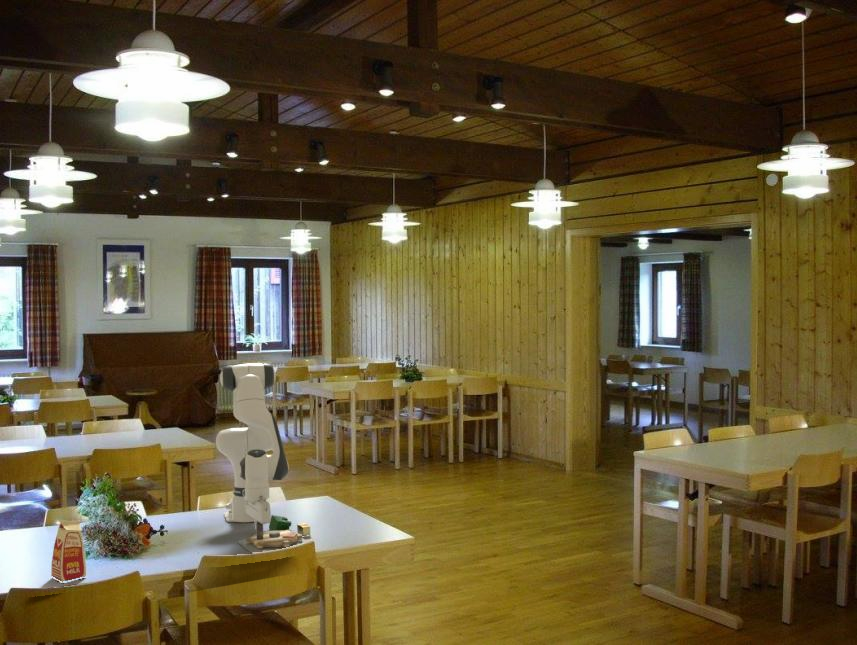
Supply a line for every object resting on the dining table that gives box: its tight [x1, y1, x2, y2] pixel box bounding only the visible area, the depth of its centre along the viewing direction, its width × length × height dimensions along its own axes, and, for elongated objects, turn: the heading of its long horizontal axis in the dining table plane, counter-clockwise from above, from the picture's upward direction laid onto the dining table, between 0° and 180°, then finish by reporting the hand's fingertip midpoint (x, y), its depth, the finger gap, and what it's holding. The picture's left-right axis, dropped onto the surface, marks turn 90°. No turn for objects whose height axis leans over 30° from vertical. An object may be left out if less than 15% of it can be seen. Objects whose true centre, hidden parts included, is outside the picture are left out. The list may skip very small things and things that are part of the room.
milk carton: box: [50, 519, 87, 582], centre depth 284 cm, size 9×9×20 cm
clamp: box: [268, 514, 292, 531], centre depth 341 cm, size 12×6×9 cm, turn 17°
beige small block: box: [296, 522, 311, 536], centre depth 335 cm, size 6×3×4 cm, turn 30°
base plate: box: [236, 537, 308, 553], centre depth 321 cm, size 22×22×1 cm
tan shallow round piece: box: [246, 522, 303, 548], centre depth 321 cm, size 20×19×8 cm
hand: (258, 530), depth 320 cm, fingers closed
